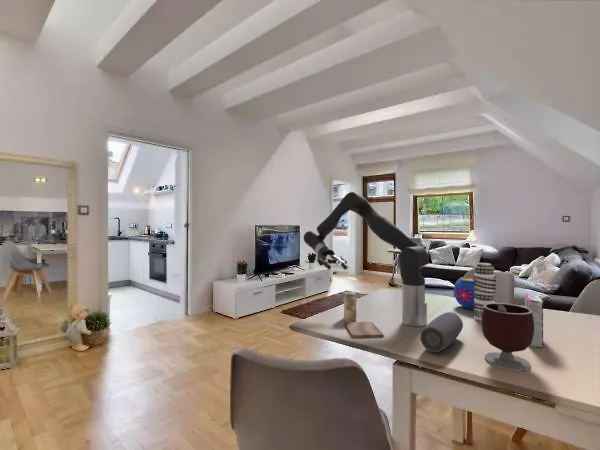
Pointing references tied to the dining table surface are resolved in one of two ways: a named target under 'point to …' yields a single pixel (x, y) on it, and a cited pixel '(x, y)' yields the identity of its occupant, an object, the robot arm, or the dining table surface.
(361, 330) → the walnut board
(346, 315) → the beech block
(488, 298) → the decorative candle
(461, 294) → the ceramic pot
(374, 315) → the dining table surface
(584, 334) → the dining table surface
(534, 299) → the candy bar box
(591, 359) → the dining table surface
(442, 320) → the bluetooth speaker
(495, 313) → the mate gourd
